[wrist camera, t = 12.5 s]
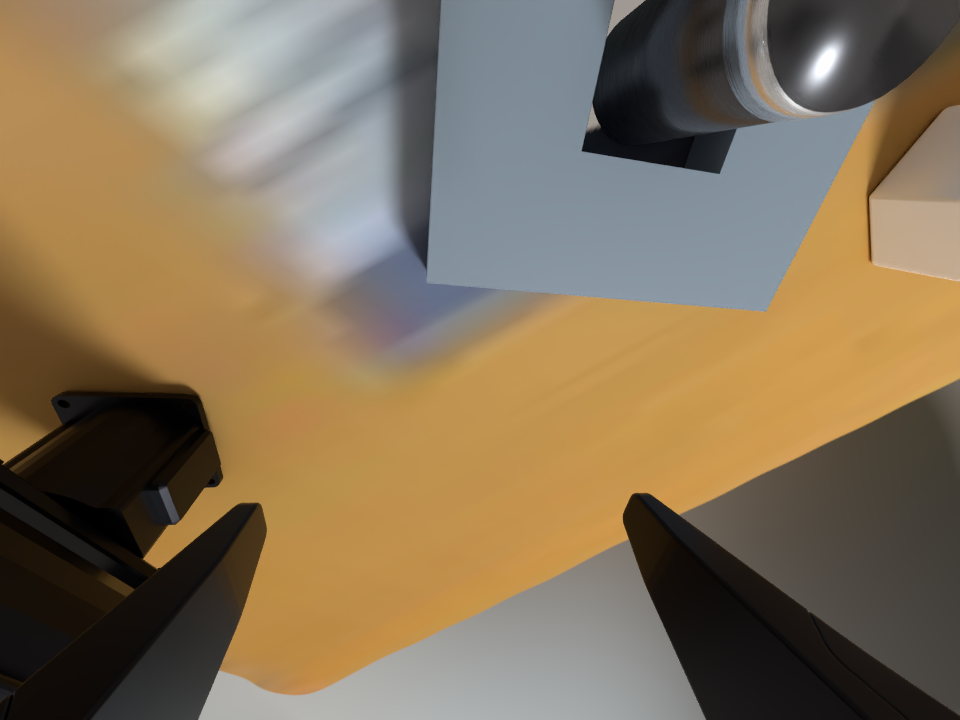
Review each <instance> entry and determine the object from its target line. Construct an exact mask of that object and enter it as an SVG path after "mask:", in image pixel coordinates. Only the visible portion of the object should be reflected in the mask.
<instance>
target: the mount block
mask: <svg viewBox="0 0 960 720" xmlns="http://www.w3.org/2000/svg"><path fill="white" fill-rule="evenodd" d="M613 5H614V0H441V1H440V20H439V39H438V58H437V78H436V97H435V116H434V135H433V155H432V174H431V193H430V212H429V232H428V251H427V283H433V284H445V285H457V286H469V287H481V288H493V289H504V290H516V291H528V292H540V293H552V294H564V295H576V296H587V297H599V298H611V299H623V300H635V301H647V302H659V303H670V304H682V305H694V306H706V307H718V308H730V309H742V310H753V311H765V312H766V310H767V308H768V306H769V305H770V303H771V301H772V299H773V297H774V295H775V293H776V291H777V289H778V287H779V285H780V283H781V281H782V279H783V277H784V276H785V274H786V272H787V270H788V268H789V266H790V264H791V262H792V260H793V258H794V256H795V254H796V252H797V250H798V248H799V247H800V245H801V243H802V241H803V239H804V237H805V235H806V233H807V231H808V229H809V227H810V225H811V223H812V221H813V219H814V218H815V216H816V214H817V212H818V210H819V208H820V206H821V204H822V202H823V200H824V198H825V196H826V194H827V192H828V190H829V188H830V187H831V185H832V183H833V181H834V179H835V177H836V175H837V173H838V171H839V169H840V167H841V165H842V163H843V161H844V159H845V158H846V156H847V154H848V152H849V150H850V148H851V146H852V144H853V142H854V140H855V138H856V136H857V134H858V132H859V130H860V129H861V127H862V125H863V123H864V121H865V119H866V117H867V115H868V113H869V111H870V109H871V107H872V105H873V103H874V101H875V100H874V101H872V102H870V103H867V104H865V105H862V106H860V107H858V108H855V109H853V110H850V111H847V112H843V113H839V114H834V115H828V116H822V117H816V118H809V119H803V120H797V121H791V122H773V123H767V124H761V125H755V126H749V127H743V128H738V129H732V130H726V131H720V132H714V133H708V134H702V135H696V136H695V137H694V140H693V143H692V146H691V149H690V152H689V155H688V158H687V161H686V164H685V167H684V168H679V167H673V166H667V165H660V164H654V163H648V162H642V161H636V160H630V159H624V158H618V157H612V156H606V155H600V154H594V153H588V152H582V147H583V142H584V138H585V133H586V128H587V124H588V119H589V115H590V110H591V105H592V101H593V96H594V92H595V87H596V83H597V78H598V73H599V69H600V64H601V60H602V55H603V50H604V46H605V41H606V36H607V31H608V28H609V23H610V18H611V14H612V9H613Z"/></svg>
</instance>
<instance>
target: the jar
mask: <svg viewBox="0 0 960 720" xmlns="http://www.w3.org/2000/svg"><path fill="white" fill-rule="evenodd" d="M869 210H870V236H871V262H872V264H873V265H875V266H880V267H885V268H890V269H896V270H901V271H906V272H911V273H917V274H922V275H927V276H933V277H938V278H943V279H948V280H954V281H959V282H960V105H955V106H950V107H947V108H946V109H944V110H943V111H942V112H941V113H940V114H939V115H938V116H937V118H936V119H935V120H934V121H933V122H932V123H931V125H930V126H929V127H928V128H927V129H926V130H925V132H924V133H923V134H922V135H921V136H920V137H919V139H918V140H917V141H916V142H915V143H914V144H913V146H912V147H911V148H910V149H909V150H908V152H907V153H906V154H905V155H904V156H903V157H902V159H901V160H900V161H899V162H898V163H897V164H896V166H895V167H894V168H893V169H892V170H891V171H890V173H889V174H888V175H887V176H886V177H885V178H884V180H883V181H882V182H881V183H880V184H879V185H878V187H877V188H876V189H875V190H874V191H873V193H872V194H871V195H870V197H869Z"/></svg>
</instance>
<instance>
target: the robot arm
mask: <svg viewBox="0 0 960 720" xmlns="http://www.w3.org/2000/svg"><path fill="white" fill-rule="evenodd" d="M51 402H52V405H53V407H54V409H55V411H56V413H57V414H58V416H59V418H60V420H61V422H62V424H63V425H61V426H60V427H58V428H57V429H55V430H54V431H52V432H51V433H49V434H48V435H46V436H45V437H43V438H42V439H40V440H39V441H37V442H36V443H34V444H33V445H32V446H30V447H29V448H27V449H26V450H24V451H23V452H21V453H20V454H18V455H17V456H15V457H14V458H12V459H11V460H9V461H8V462H6V463H5V464H3V463H4V461H2V460H1V459H0V720H198V718H199V716H200V714H201V711H202V709H203V706H204V704H205V702H206V699H207V697H208V695H209V692H210V690H211V687H212V685H213V683H214V680H215V678H216V675H217V673H218V671H219V668H220V666H221V664H222V661H223V659H224V656H225V654H226V652H227V649H228V647H229V645H230V642H231V640H232V637H233V635H234V633H235V630H236V628H237V625H238V623H239V620H240V618H241V615H242V612H243V609H244V606H245V603H246V600H247V597H248V593H249V590H250V587H251V584H252V580H253V577H254V574H255V571H256V567H257V564H258V561H259V558H260V554H261V551H262V548H263V545H264V541H265V538H266V532H267V527H266V522H265V518H264V514H263V509H262V506H261V504H259V503H240V504H238V505H236V506H235V507H233V508H232V509H231V510H230V511H229V512H227V513H226V514H225V515H224V516H223V517H221V518H220V519H219V520H218V521H217V522H215V523H214V524H213V525H212V526H211V527H209V528H208V529H207V530H206V531H205V532H203V533H202V534H201V535H200V536H199V537H197V538H196V539H195V540H194V541H193V542H191V543H190V544H189V545H188V546H187V547H185V548H184V549H183V550H182V551H181V552H179V553H178V554H177V555H176V556H175V557H173V558H172V559H171V560H170V561H169V562H167V563H166V564H165V565H164V566H163V567H161V568H158V569H157V568H155V567H154V566H152V565H151V564H149V563H148V562H146V561H145V560H143V558H144V557H145V556H146V554H147V553H148V552H149V550H150V549H151V548H152V546H153V545H154V544H155V542H156V541H157V539H158V538H159V537H160V535H161V534H162V533H163V531H164V530H165V529H166V527H167V526H168V525H175V524H177V523H178V522H179V521H180V520H181V519H182V518H183V517H184V515H185V514H186V512H187V511H188V510H189V508H190V507H191V505H192V504H193V503H194V501H195V500H196V499H197V497H198V496H199V494H200V493H201V492H202V490H203V489H204V488H206V487H216V486H218V485H219V484H220V482H221V481H222V479H223V474H222V471H221V467H220V465H221V462H220V459H219V455H218V452H217V448H216V445H215V441H214V438H213V434H212V432H211V431H210V429H209V426H208V422H207V419H206V415H205V412H204V408H203V405H202V402H201V400H200V399H199V398H198V397H197V396H194V395H190V394H153V393H112V392H71V391H66V392H62V393H60V394H58V395H57V396H55V397H53V398H52V400H51ZM186 402H187V403H190V404H191V405H192V406H190V405H188V404H187V403H186ZM2 464H3V465H2ZM623 523H624V526H625V529H626V532H627V535H628V538H629V540H630V543H631V546H632V549H633V552H634V555H635V558H636V561H637V563H638V566H639V569H640V572H641V574H642V577H643V580H644V583H645V585H646V587H647V590H648V592H649V594H650V597H651V599H652V601H653V603H654V606H655V608H656V610H657V612H658V614H659V617H660V619H661V621H662V623H663V625H664V628H665V630H666V632H667V634H668V636H669V639H670V641H671V643H672V645H673V648H674V650H675V652H676V654H677V657H678V659H679V661H680V663H681V665H682V668H683V670H684V672H685V674H686V676H687V679H688V681H689V683H690V685H691V687H692V690H693V692H694V694H695V696H696V699H697V701H698V703H699V705H700V707H701V710H702V712H703V714H704V716H705V719H706V720H960V715H958V714H957V713H955V712H954V711H952V710H951V709H949V708H948V707H946V706H944V705H943V704H941V703H940V702H939V701H937V700H936V699H934V698H933V697H931V696H930V695H928V694H927V693H925V692H924V691H922V690H921V689H919V688H918V687H916V686H915V685H913V684H912V683H910V682H909V681H908V680H906V679H905V678H903V677H902V676H900V675H899V674H897V673H896V672H894V671H893V670H891V669H890V668H888V667H887V666H886V665H884V664H883V663H881V662H880V661H878V660H877V659H875V658H874V657H872V656H871V655H869V654H868V653H867V652H865V651H864V650H862V649H861V648H860V647H858V646H857V645H855V644H854V643H852V642H851V641H850V640H848V639H847V638H846V637H844V636H843V635H841V634H840V633H839V632H837V631H836V630H834V629H833V628H831V627H830V626H829V625H828V624H826V623H825V622H823V621H822V620H821V619H820V618H818V617H817V616H815V615H814V614H813V613H811V612H808V611H807V609H806V608H804V607H803V606H802V605H800V604H799V603H798V602H796V601H795V600H794V599H792V598H791V597H789V596H788V595H787V594H785V593H784V592H782V591H781V590H780V589H779V588H777V587H776V586H774V585H773V584H772V583H770V582H769V581H767V580H766V579H765V578H763V577H762V576H761V575H760V574H758V573H757V572H755V571H754V570H753V569H751V568H750V567H749V566H747V565H746V564H745V563H743V562H742V561H741V560H739V559H738V558H736V557H735V556H734V555H732V554H731V553H729V552H728V551H727V550H726V549H724V548H723V547H721V546H720V545H719V544H717V543H716V542H715V541H713V540H712V539H711V538H709V537H708V536H706V535H705V534H704V533H702V532H701V531H699V530H698V529H697V528H696V527H694V526H693V525H692V524H690V523H689V522H687V521H686V520H685V519H683V518H682V517H681V516H679V515H678V514H677V513H675V512H674V511H673V510H671V509H670V508H668V507H667V506H666V505H664V504H663V503H662V502H660V501H659V500H658V499H656V498H655V497H653V496H652V495H651V494H648V493H634V494H633V495H631V497H630V499H629V502H628V504H627V506H626V508H625V511H624V513H623Z"/></svg>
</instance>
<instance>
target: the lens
mask: <svg viewBox="0 0 960 720" xmlns="http://www.w3.org/2000/svg"><path fill="white" fill-rule="evenodd" d="M959 17H960V0H646V1H644V2H643V3H642V4H641V5H639V6H638V7H637V8H636V9H634V10H633V11H632V12H631V13H630V14H629V15H627V16H626V17H625V18H624V19H622V20H621V21H620V22H619V23H618V24H617V25H616V26H615V27H614V28H613V30H612V31H611V32H610V34H609V35H608V37H607V38H606V41H605V46H604V50H603V55H602V60H601V64H600V69H599V73H598V78H597V83H596V87H595V92H594V96H593V101H592V103H593V108H594V112H595V115H596V117H597V120H598V122H599V124H600V126H601V127H602V129H603V130H604V131H605V133H606V134H607V135H608V136H610V137H611V138H612V139H614V140H615V141H617V142H619V143H621V144H625V145H633V146H634V145H643V144H649V143H655V142H661V141H667V140H673V139H678V138H684V137H690V136H696V135H702V134H708V133H714V132H720V131H726V130H732V129H738V128H743V127H749V126H755V125H761V124H767V123H773V122H791V121H797V120H803V119H809V118H816V117H822V116H828V115H834V114H839V113H843V112H847V111H850V110H853V109H855V108H858V107H860V106H862V105H865V104H867V103H870V102H872V101H874V100H876V99H877V98H879V97H881V96H883V95H885V94H886V93H888V92H889V91H891V90H892V89H894V88H895V87H897V86H898V85H899V84H900V83H901V82H903V81H904V80H905V79H906V78H908V77H909V76H910V75H911V74H912V73H913V72H914V71H915V70H916V69H917V68H918V67H920V66H921V65H922V64H923V63H924V62H925V60H926V59H927V58H928V57H929V56H930V55H931V54H932V53H933V52H934V51H935V49H936V48H937V47H938V46H939V44H940V43H941V42H942V41H943V39H944V38H945V37H946V36H947V34H948V33H949V32H950V30H951V29H952V27H953V26H954V24H955V23H956V21H957V20H958V19H959Z"/></svg>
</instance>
